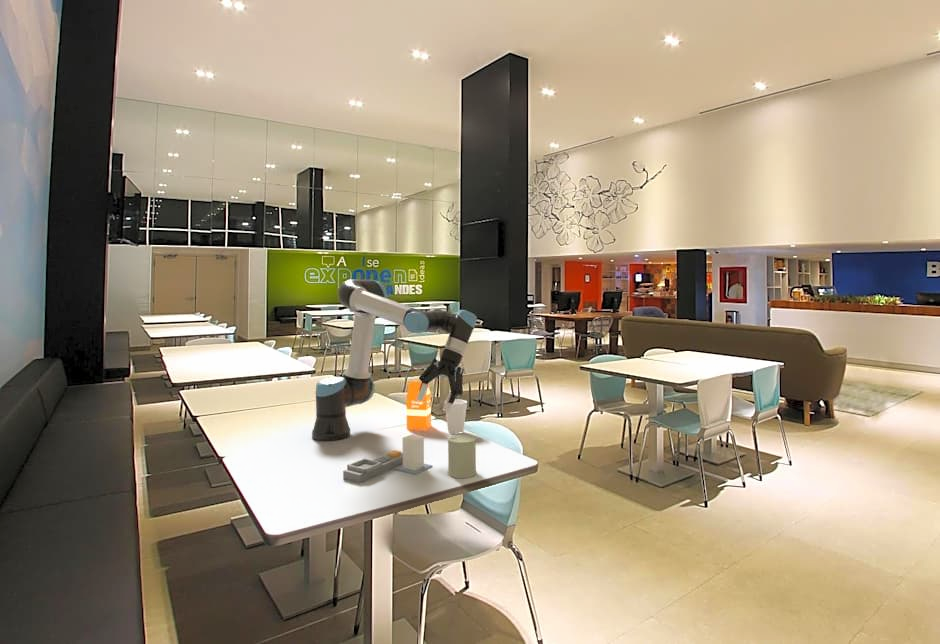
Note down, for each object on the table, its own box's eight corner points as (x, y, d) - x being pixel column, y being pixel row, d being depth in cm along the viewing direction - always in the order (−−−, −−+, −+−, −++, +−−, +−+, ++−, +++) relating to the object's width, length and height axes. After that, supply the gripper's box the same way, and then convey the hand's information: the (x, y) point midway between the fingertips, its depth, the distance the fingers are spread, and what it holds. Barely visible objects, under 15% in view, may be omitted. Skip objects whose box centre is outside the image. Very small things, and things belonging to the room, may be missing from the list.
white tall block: (402, 467, 169) (402, 437, 168) (412, 463, 173) (412, 434, 172) (414, 470, 166) (414, 440, 165) (423, 466, 170) (423, 436, 169)
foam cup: (464, 435, 208) (464, 404, 207) (442, 434, 210) (442, 403, 209) (468, 429, 217) (468, 399, 217) (447, 428, 219) (447, 398, 218)
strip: (342, 478, 160) (342, 466, 159) (392, 457, 180) (392, 447, 180) (360, 483, 155) (360, 471, 155) (409, 461, 176) (409, 451, 176)
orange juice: (426, 430, 217) (426, 383, 216) (406, 429, 218) (406, 383, 217) (431, 425, 224) (431, 380, 223) (412, 424, 226) (411, 380, 225)
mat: (394, 469, 168) (394, 468, 168) (411, 461, 175) (411, 460, 175) (415, 474, 163) (415, 473, 163) (432, 466, 171) (432, 465, 171)
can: (447, 468, 169) (447, 433, 168) (475, 467, 169) (474, 432, 169) (448, 478, 159) (447, 441, 159) (477, 477, 160) (477, 440, 159)
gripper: (484, 362, 180) (463, 418, 177) (436, 347, 196) (415, 398, 193) (473, 355, 175) (450, 414, 171) (424, 341, 191) (402, 393, 187)
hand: (431, 406), depth 182 cm, fingers open, 13 cm apart
